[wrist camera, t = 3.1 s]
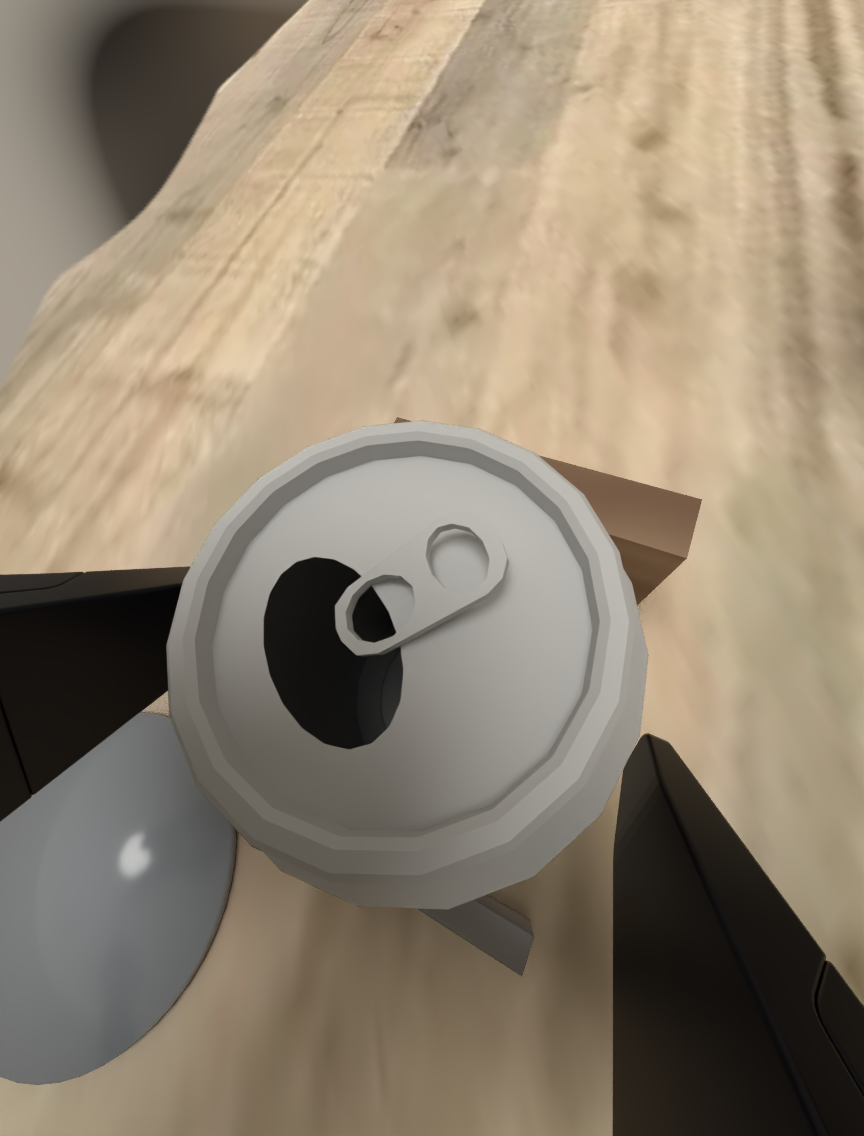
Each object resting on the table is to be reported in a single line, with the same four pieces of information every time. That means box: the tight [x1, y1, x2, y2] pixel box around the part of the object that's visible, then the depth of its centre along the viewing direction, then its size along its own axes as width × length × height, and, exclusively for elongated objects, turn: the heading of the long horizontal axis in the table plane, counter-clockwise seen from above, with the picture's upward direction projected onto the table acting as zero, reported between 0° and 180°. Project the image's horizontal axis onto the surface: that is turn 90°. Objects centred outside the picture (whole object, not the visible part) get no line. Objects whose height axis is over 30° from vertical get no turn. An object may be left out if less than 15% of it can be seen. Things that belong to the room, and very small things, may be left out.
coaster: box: [0, 712, 237, 1085], centre depth 15 cm, size 11×11×1 cm
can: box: [166, 421, 648, 909], centre depth 11 cm, size 8×8×12 cm
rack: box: [394, 417, 702, 976], centre depth 13 cm, size 14×10×6 cm
